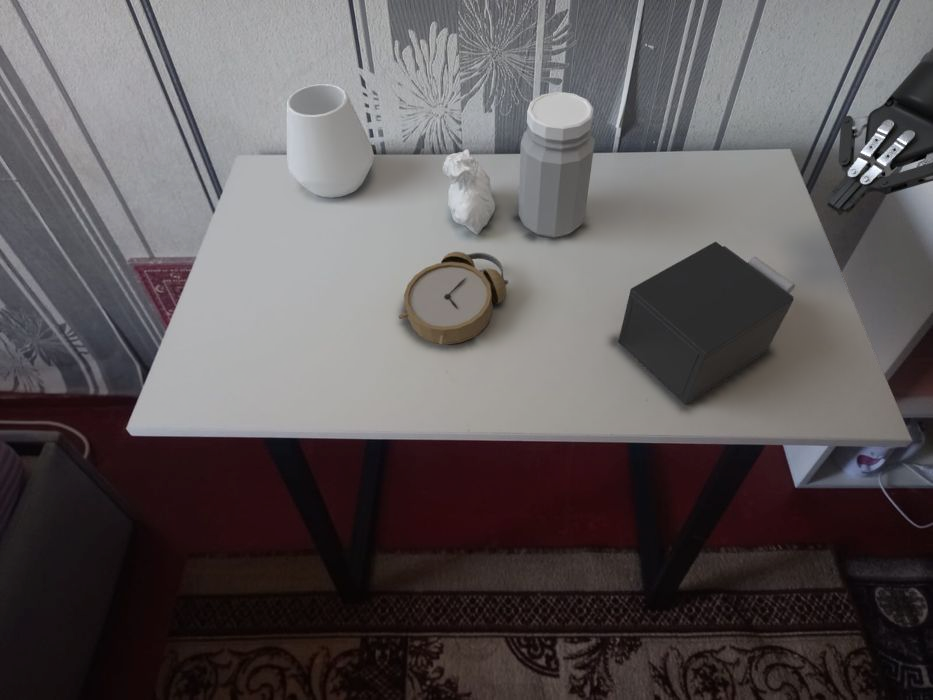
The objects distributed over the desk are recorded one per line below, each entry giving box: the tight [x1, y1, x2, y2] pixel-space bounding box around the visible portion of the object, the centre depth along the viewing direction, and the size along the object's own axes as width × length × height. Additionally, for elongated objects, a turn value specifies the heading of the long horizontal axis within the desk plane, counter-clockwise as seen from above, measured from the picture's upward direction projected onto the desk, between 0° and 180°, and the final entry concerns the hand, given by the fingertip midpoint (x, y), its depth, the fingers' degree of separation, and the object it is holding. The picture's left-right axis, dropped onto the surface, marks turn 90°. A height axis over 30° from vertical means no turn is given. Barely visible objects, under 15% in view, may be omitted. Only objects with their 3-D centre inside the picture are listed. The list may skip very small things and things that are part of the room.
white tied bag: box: [442, 148, 496, 235], centre depth 94 cm, size 12×8×11 cm
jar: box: [517, 91, 596, 239], centre depth 90 cm, size 10×10×18 cm
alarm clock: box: [398, 251, 509, 346], centre depth 85 cm, size 11×5×15 cm
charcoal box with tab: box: [618, 241, 794, 406], centre depth 77 cm, size 14×12×10 cm
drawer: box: [722, 245, 796, 299], centre depth 78 cm, size 17×10×8 cm, turn 123°
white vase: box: [286, 83, 375, 199], centre depth 99 cm, size 13×13×14 cm
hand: (833, 210), depth 77 cm, fingers closed
